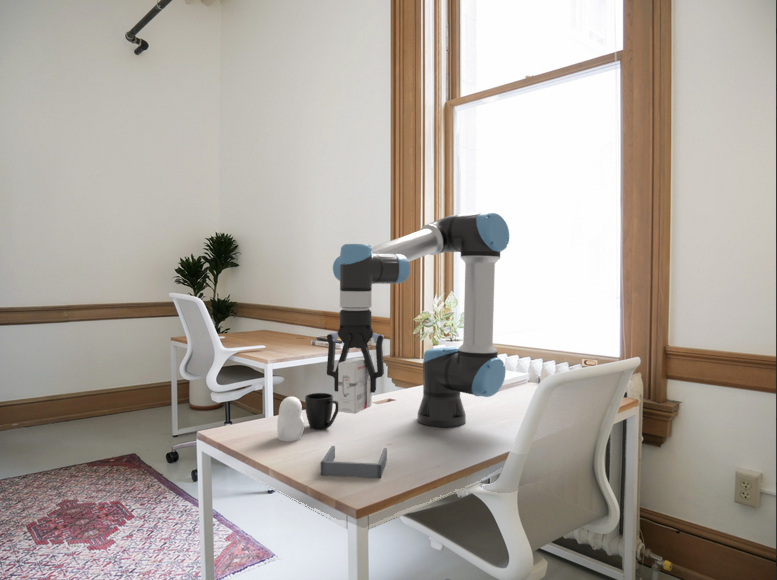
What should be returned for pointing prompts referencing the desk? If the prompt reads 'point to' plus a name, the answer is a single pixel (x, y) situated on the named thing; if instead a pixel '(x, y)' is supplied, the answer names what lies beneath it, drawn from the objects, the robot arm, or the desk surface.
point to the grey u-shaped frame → (352, 466)
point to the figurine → (290, 420)
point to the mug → (320, 410)
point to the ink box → (352, 385)
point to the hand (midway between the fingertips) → (355, 405)
